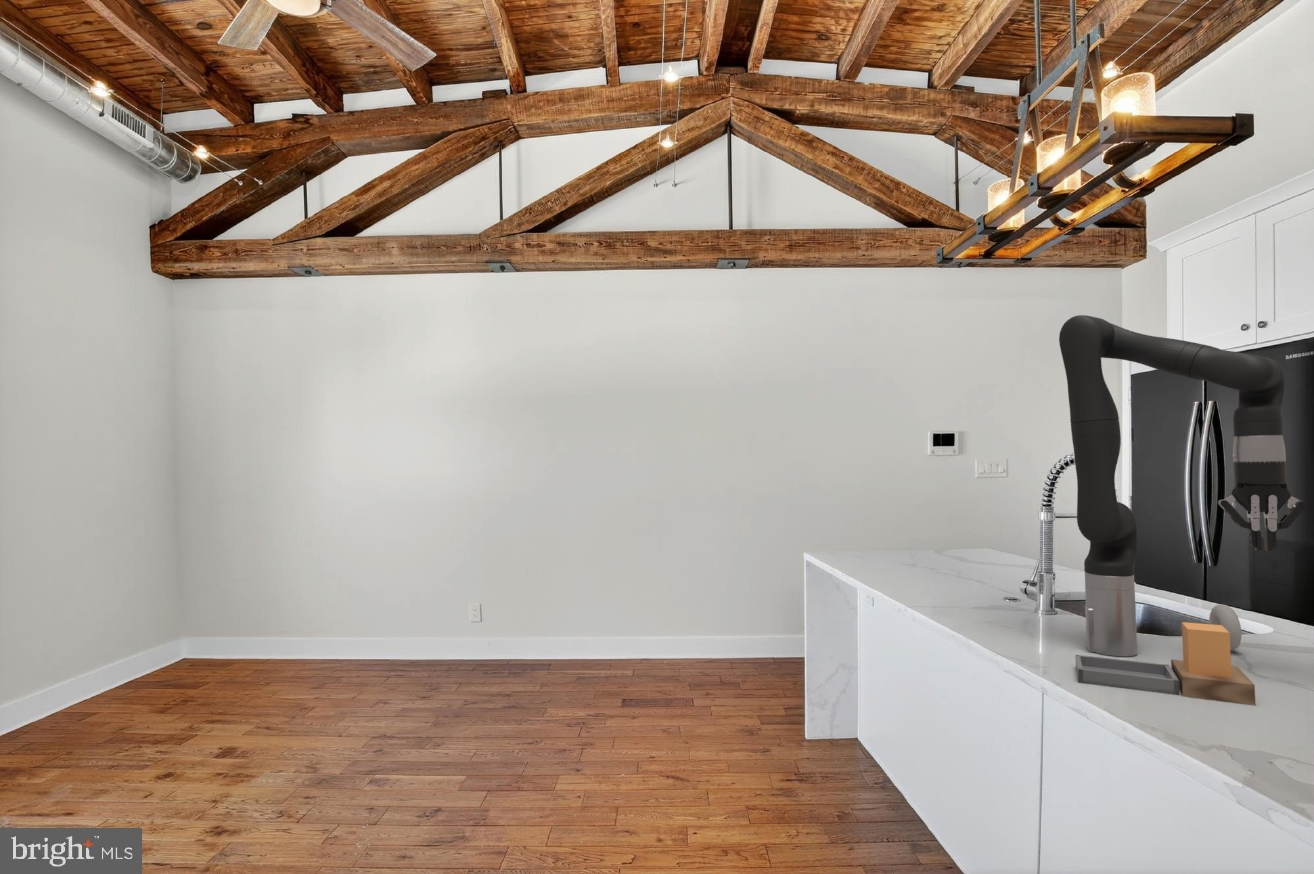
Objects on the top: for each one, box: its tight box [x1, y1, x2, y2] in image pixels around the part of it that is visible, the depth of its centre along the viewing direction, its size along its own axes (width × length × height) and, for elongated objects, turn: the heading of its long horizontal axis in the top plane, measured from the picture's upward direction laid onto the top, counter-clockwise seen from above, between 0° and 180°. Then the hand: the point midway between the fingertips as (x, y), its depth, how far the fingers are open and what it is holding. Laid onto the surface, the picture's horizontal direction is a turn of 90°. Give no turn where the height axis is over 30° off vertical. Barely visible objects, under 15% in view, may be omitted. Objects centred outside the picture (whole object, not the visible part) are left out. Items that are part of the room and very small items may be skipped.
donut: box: [1208, 603, 1242, 652], centre depth 150 cm, size 10×4×10 cm, turn 158°
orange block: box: [1181, 621, 1232, 678], centre depth 125 cm, size 6×6×8 cm
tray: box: [1074, 654, 1181, 696], centre depth 131 cm, size 16×11×2 cm
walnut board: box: [1170, 658, 1256, 706], centre depth 125 cm, size 10×12×4 cm
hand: (1263, 550), depth 129 cm, fingers closed
